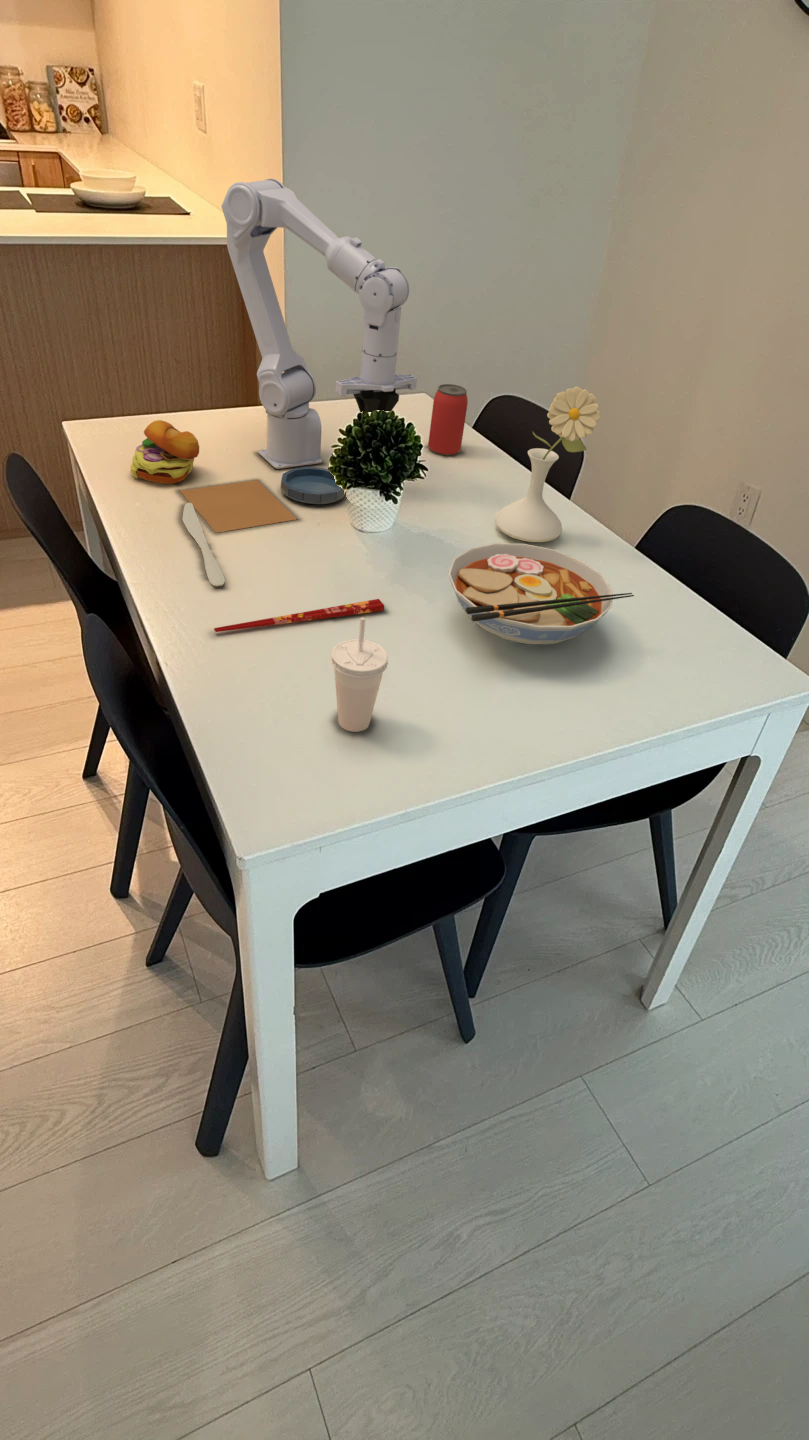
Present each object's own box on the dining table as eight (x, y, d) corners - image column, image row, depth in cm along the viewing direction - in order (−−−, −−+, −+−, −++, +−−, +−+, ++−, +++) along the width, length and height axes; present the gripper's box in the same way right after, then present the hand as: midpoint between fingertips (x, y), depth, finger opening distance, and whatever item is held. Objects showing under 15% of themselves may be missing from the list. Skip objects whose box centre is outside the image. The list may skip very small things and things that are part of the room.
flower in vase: (486, 538, 144) (513, 385, 128) (502, 512, 152) (529, 365, 137) (562, 557, 141) (600, 403, 126) (574, 529, 150) (611, 382, 134)
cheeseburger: (123, 464, 151) (132, 408, 146) (183, 474, 157) (194, 420, 152) (135, 488, 144) (145, 429, 139) (198, 497, 150) (209, 441, 145)
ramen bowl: (558, 579, 135) (569, 531, 130) (638, 661, 119) (655, 610, 114) (409, 594, 127) (416, 544, 122) (474, 686, 111) (485, 632, 106)
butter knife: (205, 585, 122) (226, 582, 122) (177, 503, 141) (195, 501, 142) (205, 588, 122) (226, 585, 123) (177, 506, 141) (196, 504, 142)
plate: (327, 477, 156) (327, 463, 155) (356, 502, 149) (357, 488, 148) (270, 485, 151) (271, 471, 150) (298, 511, 144) (299, 497, 143)
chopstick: (213, 630, 114) (212, 624, 113) (378, 603, 124) (379, 598, 123) (217, 638, 113) (217, 632, 112) (384, 611, 122) (384, 605, 122)
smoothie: (380, 706, 105) (391, 608, 96) (381, 741, 100) (393, 639, 92) (327, 703, 105) (334, 603, 96) (325, 737, 100) (332, 635, 91)
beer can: (466, 450, 173) (475, 389, 166) (450, 459, 169) (459, 397, 161) (438, 440, 176) (446, 380, 168) (421, 449, 171) (428, 387, 164)
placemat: (257, 480, 152) (257, 480, 152) (297, 519, 142) (297, 519, 142) (179, 491, 146) (179, 490, 146) (216, 532, 135) (216, 532, 135)
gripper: (352, 362, 135) (346, 447, 144) (430, 356, 142) (420, 437, 150) (331, 348, 140) (327, 431, 148) (407, 343, 146) (399, 423, 155)
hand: (372, 433), depth 149 cm, fingers closed
